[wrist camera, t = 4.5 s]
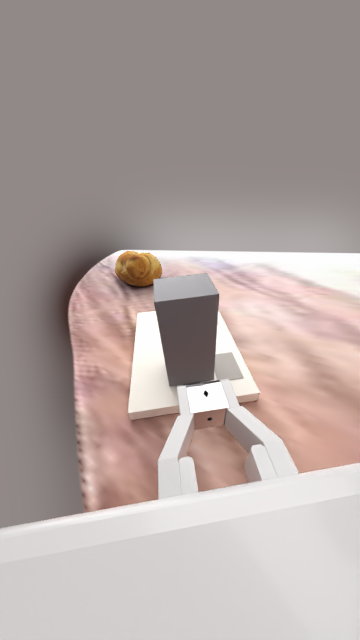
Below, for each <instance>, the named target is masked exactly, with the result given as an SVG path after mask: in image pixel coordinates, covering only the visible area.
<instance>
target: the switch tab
mask: <svg viewBox="0 0 360 640" xmlns="http://www.w3.org/2000/svg"><path fill="white" fill-rule="evenodd" d="M154 305H155V310H156V316H157V321H158V327H159V332H160V338H161V343H162V349H163V354H164V360H165V365H166V371H167V376H168V381H169V387H171V386H177V385H184V384H191V383H197V382H204V381H211V380H214V369H215V353H216V338H217V322H218V306H219V293H218V291H217V289H216V288H215V286H214V284H213V282H212V281H211V279H210V277H209V276H208V274H207V273H203V274H195V275H186V276H178V277H170V278H161V279H154Z"/></svg>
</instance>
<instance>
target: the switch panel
mask: <svg viewBox="0 0 360 640" xmlns="http://www.w3.org/2000/svg"><path fill="white" fill-rule="evenodd" d="M223 379H229V381H230V383H231V385H232V388H233V390H234V393H235V395H236V398H237V400H238V403H243V402H249V401H255V400H258V397H259V394H260V391H259V389H258V387H257V386H256V384H255V382H254V380H253V378H252V376H251V374H250V372H249V370H248V368H247V366H246V364H245V362H244V360H243V358H242V356H241V354H240V352H239V350H238V348H237V346H236V344H235V342H234V340H233V338H232V336H231V334H230V332H229V330H228V328H227V326H226V324H225V322H224V320H223V318H222V316H221V314H220V313H219V311H218V322H217V338H216V353H215V369H214V380H211V381H216V380H223ZM204 382H210V381H204ZM204 382H197V383H191V384H198V383H204ZM191 384H184V385H191ZM177 386H183V385H177ZM177 386H171V387H169V381H168V376H167V371H166V365H165V360H164V354H163V349H162V343H161V338H160V332H159V327H158V321H157V316H156V311H151V312H143V313H138V316H137V326H136V336H135V346H134V356H133V366H132V376H131V386H130V396H129V406H128V415H129V417H130V419H131V420H135V419H141V418H147V417H154V416H160V415H166V414H173V413H179V412H180V409H179V401H178V393H177Z"/></svg>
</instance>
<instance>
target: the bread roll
mask: <svg viewBox="0 0 360 640" xmlns="http://www.w3.org/2000/svg"><path fill="white" fill-rule="evenodd" d="M115 273H116V275H117V276H118V277H119V278H120V279H121V280H123V281H124V282H125V283H127V284H129V285H131V286H138V287H143V286H148V285H150V284H153V283H154V279H159V277H160V276H161V274H162V268H161V264H160V262H159V261H158V260H157V258H156V257H155V256H153V255H152V254H150V253H141V254H139V253H138V252H133V251H127V252H125V253H123V254H122V255H120V256H119V257H118V259H117V261H116V268H115Z"/></svg>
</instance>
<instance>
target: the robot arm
mask: <svg viewBox="0 0 360 640" xmlns="http://www.w3.org/2000/svg"><path fill="white" fill-rule="evenodd" d="M177 393H178V401H179V409H180V416H177V419H176V421H175V423H174V425H173V428H172V430H171V432H170V435H169V437H168V439H167V441H166V444H165V446H164V448H163V450H162V453H161V455H160V457H159V459H158V489H159V499H158V500H153V501H147V502H142V503H136V504H131V505H125V506H120V507H114V508H109V509H103V510H98V511H93V512H87V513H82V514H76V515H71V516H65V517H60V518H54V519H50V520H43V521H38V522H33V523H27V524H22V525H16V526H11V527H5V528H0V640H360V463H354V464H349V465H343V466H338V467H332V468H327V469H322V470H316V471H311V472H305V473H300V474H299V472H298V470H297V468H296V466H295V464H294V462H293V460H292V458H291V456H290V454H289V452H288V450H287V448H286V446H285V445H284V443H283V441H282V439H281V438H279V437H278V436H277V435H276V434H275V433H274V432H272V431H271V430H270V429H269V428H268V427H267V426H265V425H264V424H263V423H262V422H261V421H260V420H258V419H257V418H256V417H255V416H254V415H253V414H251V413H250V412H249V411H248V410H247V409H246V408H244V407H243V406H240V405H239V403H238V400H237V398H236V395H235V393H234V390H233V388H232V385H231V383H230V381H229V379H223V380H216V381H210V382H204V383H198V384H191V385H183V386H177ZM221 425H224V426H225V427H226V429H227V430H228V431H229V432H230V433H231V434H232V435H233V437H234V438H235V439H236V440H237V441H238V442H239V443H240V445H241V446H242V447H243V448H244V449H245V450H246V451H247V453H248V454H249V455H248V457H247V459H246V462H245V464H244V470H245V473H246V476H247V479H248V482H249V483H245V484H240V485H234V486H229V487H223V488H218V489H213V490H207V491H202V492H198V486H197V480H196V474H195V468H194V461H193V459H192V458H191V457H190V456H189V457H186V456H187V453H188V450H189V447H190V444H191V441H192V437H193V434H194V430H197V429H202V428H207V427H214V426H221Z"/></svg>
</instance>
